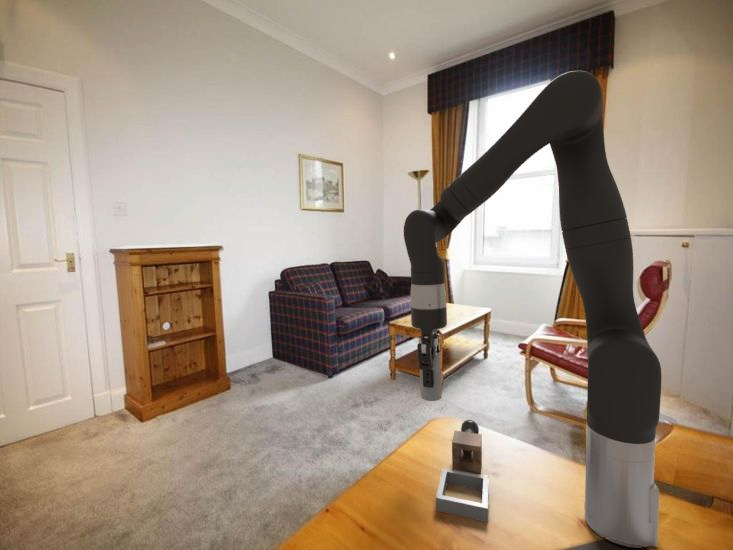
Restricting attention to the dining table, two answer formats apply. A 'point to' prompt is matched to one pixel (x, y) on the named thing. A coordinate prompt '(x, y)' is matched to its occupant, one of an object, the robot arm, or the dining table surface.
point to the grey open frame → (460, 505)
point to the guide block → (467, 461)
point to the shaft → (469, 430)
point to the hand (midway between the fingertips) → (430, 381)
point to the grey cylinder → (436, 390)
